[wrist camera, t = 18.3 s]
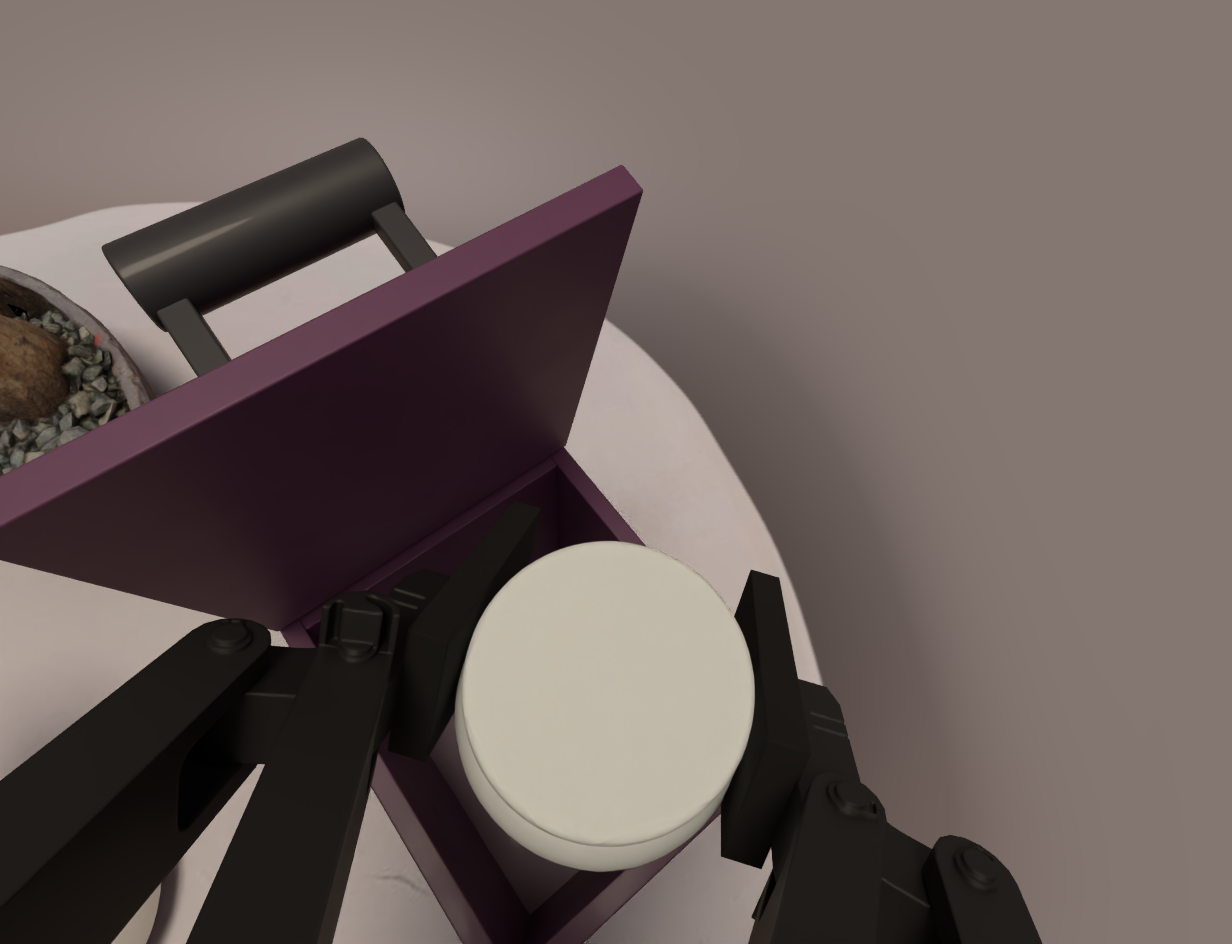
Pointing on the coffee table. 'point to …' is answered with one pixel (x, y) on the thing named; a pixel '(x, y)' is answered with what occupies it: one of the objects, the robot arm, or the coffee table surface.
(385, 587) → the chest
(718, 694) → the pill bottle
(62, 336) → the planter
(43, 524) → the lid
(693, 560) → the coffee table surface
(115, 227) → the coffee table surface
